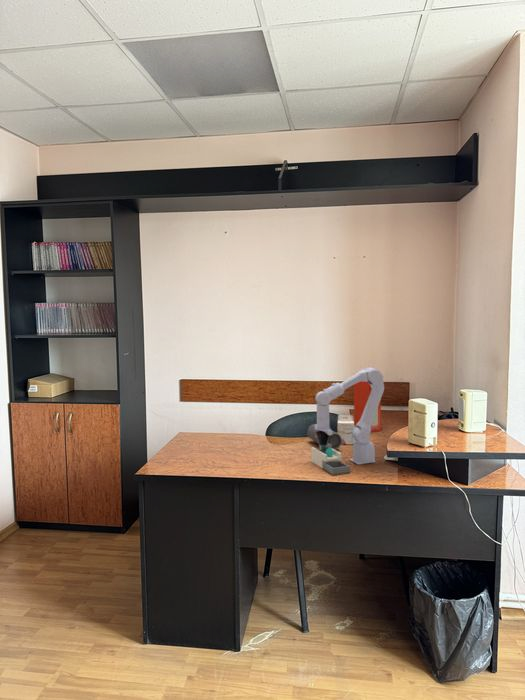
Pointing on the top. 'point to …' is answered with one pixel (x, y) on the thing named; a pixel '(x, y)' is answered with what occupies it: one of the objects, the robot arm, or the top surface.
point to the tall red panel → (360, 401)
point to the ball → (329, 452)
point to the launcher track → (324, 457)
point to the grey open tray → (336, 468)
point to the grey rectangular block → (324, 447)
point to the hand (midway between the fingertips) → (323, 447)
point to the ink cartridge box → (345, 429)
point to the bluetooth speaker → (332, 439)
